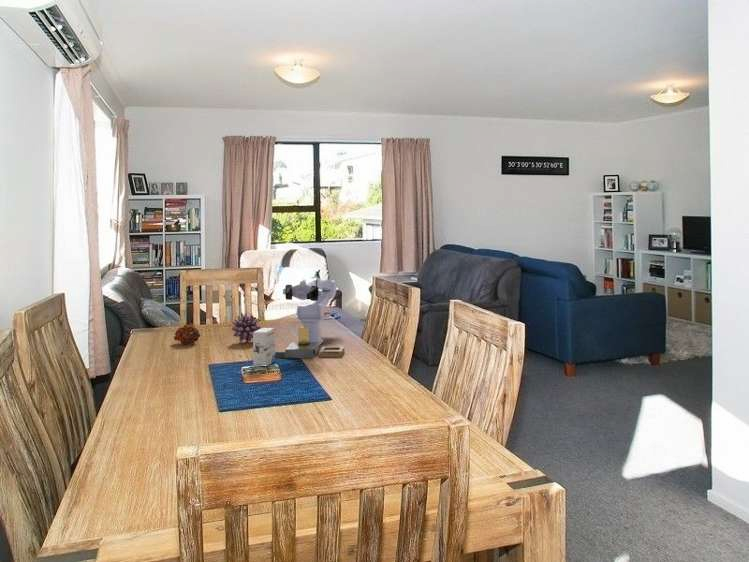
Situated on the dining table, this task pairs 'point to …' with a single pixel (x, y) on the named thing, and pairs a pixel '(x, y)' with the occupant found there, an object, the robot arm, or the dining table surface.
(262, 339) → the ink box
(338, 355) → the rack
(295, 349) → the socket block
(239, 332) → the purple spiky ball
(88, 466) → the dining table surface
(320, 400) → the dining table surface
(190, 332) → the brown knobbly lump
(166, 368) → the dining table surface
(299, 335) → the yellow rectangular block
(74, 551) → the dining table surface
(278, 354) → the drift key
